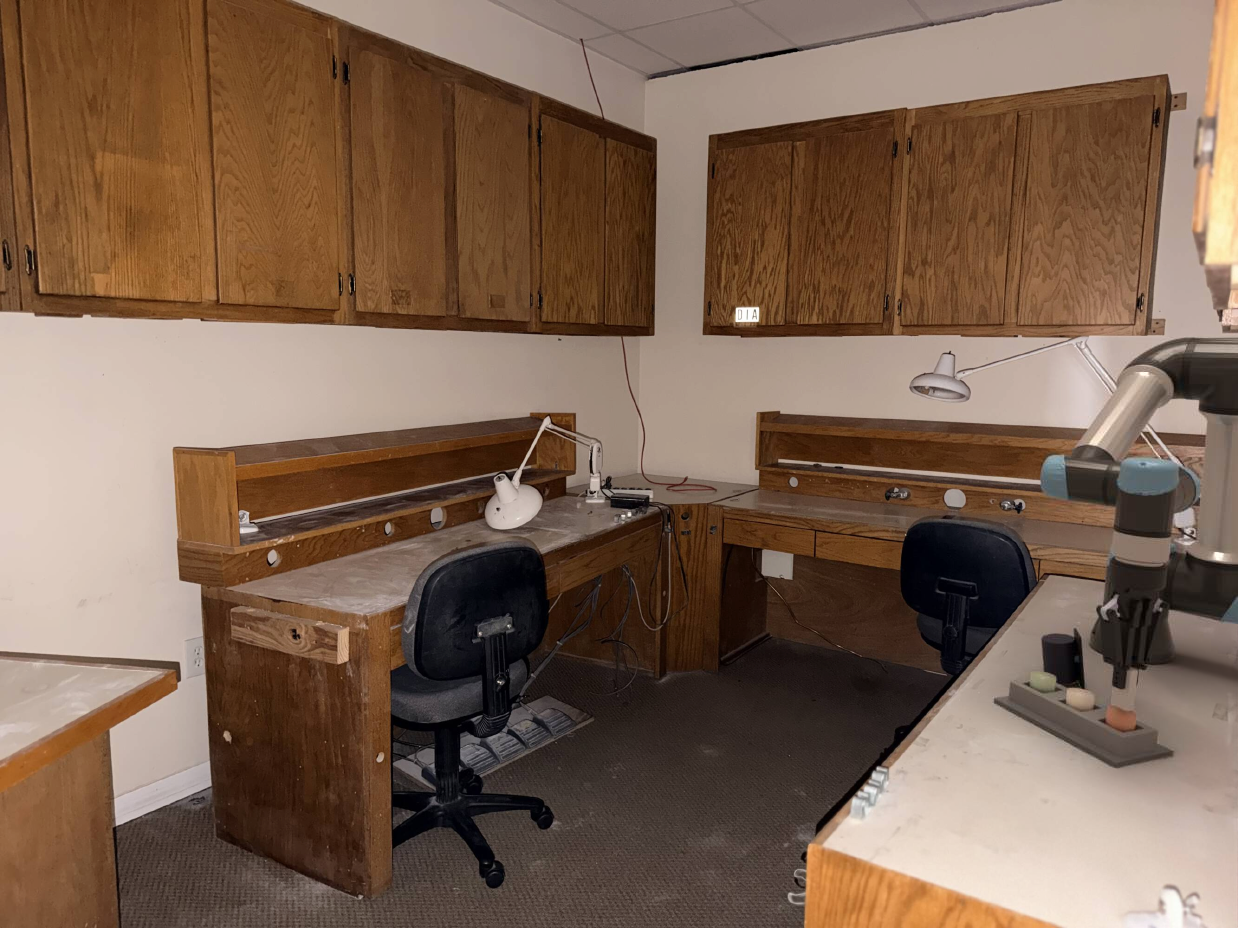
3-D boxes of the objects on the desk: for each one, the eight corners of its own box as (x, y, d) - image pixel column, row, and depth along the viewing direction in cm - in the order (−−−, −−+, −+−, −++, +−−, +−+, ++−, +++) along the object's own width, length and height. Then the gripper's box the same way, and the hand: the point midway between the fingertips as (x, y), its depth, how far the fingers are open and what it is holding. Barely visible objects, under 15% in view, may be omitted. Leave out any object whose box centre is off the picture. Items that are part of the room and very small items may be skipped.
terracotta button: (1098, 729, 132) (1101, 708, 132) (1117, 725, 134) (1119, 704, 133) (1121, 740, 129) (1124, 719, 128) (1140, 736, 130) (1142, 715, 129)
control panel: (993, 702, 148) (995, 680, 147) (1045, 693, 152) (1047, 672, 151) (1115, 767, 125) (1118, 742, 125) (1172, 755, 129) (1175, 731, 129)
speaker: (1091, 681, 157) (1090, 628, 156) (1085, 692, 152) (1083, 637, 151) (1047, 674, 162) (1045, 623, 160) (1039, 685, 157) (1038, 632, 156)
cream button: (1059, 709, 139) (1061, 689, 139) (1077, 706, 141) (1079, 686, 140) (1079, 719, 136) (1082, 699, 135) (1098, 716, 137) (1100, 696, 136)
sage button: (1023, 691, 146) (1025, 672, 146) (1041, 688, 148) (1042, 669, 147) (1042, 700, 142) (1044, 681, 142) (1060, 697, 144) (1061, 678, 143)
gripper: (1146, 551, 133) (1130, 692, 136) (1085, 556, 128) (1070, 702, 132) (1192, 563, 126) (1174, 711, 129) (1129, 569, 121) (1112, 722, 125)
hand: (1122, 706), depth 130 cm, fingers closed
